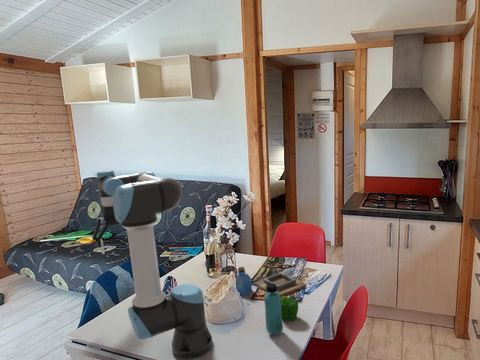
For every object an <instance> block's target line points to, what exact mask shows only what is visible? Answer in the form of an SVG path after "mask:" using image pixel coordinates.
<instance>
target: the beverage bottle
mask: <svg viewBox="0 0 480 360" xmlns="http://www.w3.org/2000/svg"><path fill="white" fill-rule="evenodd" d="M266 291H267V293H266V292H265V294H264V296H263V299H264V312H265V314H264V315H265V316H264V317H265V328H266V331H267V333H268V334H271V335H279V334H281V333H282V332H283V329H284V326H283V325H284V324H283V323H284V322H283V321H284V320H282V312H281V297H280V294H279V293H277V292H276V291H277V286H276V284H273V283H270V284H267V286H266Z"/></svg>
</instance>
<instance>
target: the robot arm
mask: <svg viewBox="0 0 480 360" xmlns="http://www.w3.org/2000/svg"><path fill="white" fill-rule="evenodd" d="M96 182H97V185H98V190H99V195H100V203H101V206H102V207H101V208H102V213H103V217H97V218H96V224H95V227H94V231H93V234H92V237H91V239H92V240H93V241H96V242H97V247H98V248H100V251H101V254H102V255H105V253H106V252H105V247H104V241H103V239H102V238H103V236H104V235H105V233H106V231H107V229H108V228H109V227H111V226H115V225H118V224H119V223H120V224H121V227H122V228H124V229H125V230H126V232H127V233H126V234H127V240H128V248H129V254H130V260H131V261H130V262H131V270H132V277H133V283H134V284H133V285H134V291H135V292H134V293H135V295H134V297H133V298H132V300H131V305H132V306H130V307H129V308H128V309H127V313H128V317H129V320H130V324H131V326H132V329H133V331H134V333H135V335H136V337H137V338H138V340H142V341H143V340H144V341H145V340H146V339H149V338H154V337H156V336H158V335H160V334H164V333H166V332H168V331H171V330H173V337H172V339H171V351H172V353H173V354H174V355H175V356H176V357H178V358H181V359H194V358H195V359H196V358H198V357H201V356H204V355H205V354H206V353H208V352H209V351H210V350H211V348H212V347H213V338H212V337H213V336H212V333H211V332H210V330H209V328H208V325H207V323H206V321H207V320H206V312H205V298H204V294H203V290H202V289H201V288H200V287H199V286H197V285H194V284H187V283H186V284H178V285H175V286H173V287H172V288H171V289H170V291H169V294H168V295H167V294H166V292H165V291H163V290H162V287H161V279H160V271H159V263H158V256H157V247H156V246H157V245H156V240H155V239H156V238H155V231H154V226H155V224H156V223H157V222H158V216H157V215H159V214H164V213H167V212H170V211H172V210H173V209H175V208H176V207H178V205H179V204H180V203H181V200H182V198H183V193H184V192H183V188H182V185H181V183H180V182H179V181H178V180H176V179H174V178H171V177H163V178H161V177H158V176H156V175H155V172H154V171H143V172H138V173H133V174H126V175H125V174H124V175H118V176H116V175H115V171H114V170H113V169H112V170H111V169H107V170H101V171H98V172H96ZM103 222H104V224H103V226H102V225H101V224H102V223H103ZM101 226H102V227H101ZM100 228H101V229H100ZM99 231H100V232H99Z"/></svg>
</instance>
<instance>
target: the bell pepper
mask: <svg viewBox="0 0 480 360" xmlns="http://www.w3.org/2000/svg"><path fill="white" fill-rule="evenodd" d="M280 300H281V312H282V321H284V322H287V321H292V322H293V321H294V320H296V318H297V316H298V312H299V303H298V300H296V299H294V297H293V296H289V297H287V295H284V296H282V297H280Z"/></svg>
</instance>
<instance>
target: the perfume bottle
mask: <svg viewBox="0 0 480 360" xmlns="http://www.w3.org/2000/svg"><path fill="white" fill-rule="evenodd" d="M245 269H246V268H245V267H244V266H240V267H237V275H235V277H236V280H237V282H236V289H237V291H238V292H239V293H240V294H239V295H240V296H244V297H245V296H247V295H248V294H249V293H251V292H252V290H253V286H252V278H251V276H250V275H249V274H248V273H246V270H245Z"/></svg>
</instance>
